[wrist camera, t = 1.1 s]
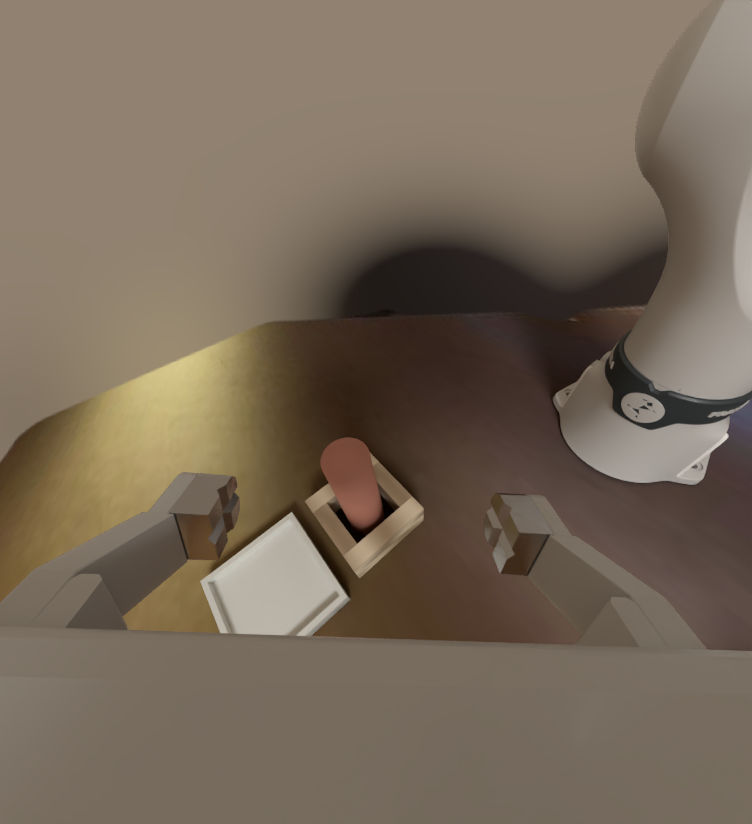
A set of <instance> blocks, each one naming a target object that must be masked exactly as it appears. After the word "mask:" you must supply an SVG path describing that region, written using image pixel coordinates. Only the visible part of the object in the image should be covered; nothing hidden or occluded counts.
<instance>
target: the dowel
mask: <svg viewBox="0 0 752 824" xmlns="http://www.w3.org/2000/svg"><path fill="white" fill-rule="evenodd" d="M320 464H321V469H322V471H323V473H324V475H325V477H326V479H327V481H328V482H329V484H330V486H331V488H332V490H333V492H334V494H335V496H336V498H337V500H338V501H339V503H340V505H341V507H342V509H343V511H344V513H345V515H346V517H347V519H348V521H349V522H350V524H351V526H352V528H353V529H354V530H355V531H356V532H358V533H360V534H363V535H368V534H369V533H371V532H372V531H373V530H374V529H375V528H376V527H377V526H379V525H380V524H381V523H382V522H383V521H384V518H385V514H384V510H383V506H382V501H381V497H380V493H379V489H378V485H377V481H376V477H375V473H374V468H373V464H372V460H371V456H370V452H369V449H368V447H367V446H366V445H365V444H364V443H363V442H362V441H360V440H358V439H356V438H350V437H347V438H341V439H338V440H335V441H334V442H332V443H331V444H329V445H328V446H327V447H326V449H325V450H324V451H323V453H322V456H321V462H320Z"/></svg>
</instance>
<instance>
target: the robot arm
mask: <svg viewBox="0 0 752 824" xmlns="http://www.w3.org/2000/svg"><path fill="white" fill-rule="evenodd" d="M635 152H636V158H637V162H638V165H639V168H640V171H641V173H642V175H643V177H644V178H645V179H646V180H647V181H648V183H649V184H650V185H651V187H652V188H653V189H654V191H655V193H656V195H657V196H658V198H659V200H660V202H661V205H662V207H663V210H664V213H665V217H666V220H667V226H668V233H669V248H668V256H667V261H666V265H665V268H664V271H663V274H662V276H661V279H660V281H659V283H658V285H657V287H656V289H655V292H654V293H653V296H652V297H651V299H650V301H649V302H648V304H647V306H646V308H645V310H644V311H643V313H642V315H641V316H640V318H639V320H638V321H637V323H636V324H635V326H634V328H633V329H632V330H630V331H629V332H627V333H626V334H625V335H624V336H623V337H622V338H621V340H620V341H619V342H618V343H617V344H616V345H615V346H614V348H613V349H612V351H609V352H607V353H606V354H605V355H604V356H603V357H602V358H601V359H600V361H599V360H596V361H594V362H593V363H592V364H591V366H588V367H587V368H586V370H585V371H584V372H583V374H582V375H581V377H580V378H579V380H578V381H577V382H575V383H573V384H571V385H570V386H568V387H566V388H564V389H562V390H560V391H559V392H557V393H556V394H555V396H554V397H553V403H554V405H555V407H556V409H557V410H558V412H559V414H560V426H561V431H562V434H563V436H564V439H565V440H566V442H567V444H568V445H569V447H570V448H571V449H572V450H573V452H574V453H575V454H576V455H577V456H578V457H579V458H581V459H582V460H583V461H584V462H586V463H587V464H588V465H590V466H591V467H593V468H595V469H596V470H598V471H600V472H602V473H604V474H606V475H609V476H611V477H614V478H617V479H621V480H625V481H630V482H639V483H649V482H657V481H673V482H678V483H683V484H690V485H693V484H697V483H699V482H700V481H701V480H702V479H703V478H704V475H705V472H706V468H707V464H708V460H709V457H710V453H711V451H713V450H714V449H715V448H716V447H718V446H719V445H720V444H722V443H723V442H724V441H725V440H726V439H727V438H728V434H727V433H726V432H727V430H728V427H729V417H730V415H731V414H732V413H734V412H735V411H738V410H739V409H741V408H742V407H743V406H744V405H746V404H747V403H748V402H749V401H750V399H751V398H752V0H712V1H711V2H710V3H709V4H708V5H707V6H706V7H705V8H704V9H703V10H702V12H701V13H700V14H699V15H698V16H697V17H696V18H695V19H694V20H693V21H692V22H691V24H690V25H689V26H688V27H687V28H686V30H685V31H684V32H683V33H682V35H681V36H680V37H679V38H678V40H677V41H676V42H675V44H674V46H673V47H672V48H671V49H670V51H669V52H668V54H667V56H666V57H665V59H664V60H663V62H662V63H661V65H660V67H659V68H658V70H657V72H656V74H655V76H654V78H653V80H652V81H651V83H650V86H649V88H648V90H647V92H646V95H645V97H644V100H643V103H642V106H641V109H640V112H639V116H638V121H637V126H636V134H635ZM567 395H568V396H567ZM692 467H693V468H692ZM236 488H237V482H236V478H235V477H234V476H226V475H214V474H203V473H200V474H198V473H188V472H183V473H181V474H179V475H178V476H177V477H176V478H175V479H174V480H173V482H172V483H171V484H170V485H169V487H168V488H167V489H166V490H165V492H164V493H163V494H162V495H161V496H160V498H159V499H158V500H157V501H156V503H155V504H154V505H153V506H152V508H151V509H150V510H149V511H148V512H141V513H140V514H138V515H136V516H134V517H132V518H130V519H128V520H126V521H124V522H123V523H121V524H119V525H117V526H115V527H113V528H111V529H109V530H108V531H106V532H104V533H102V534H100V535H98V536H96V537H94V538H92V539H91V540H89V541H87V542H85V543H83V544H81V545H79V546H77V547H75V548H74V549H72V550H70V551H68V552H66V553H64V554H62V555H60V556H58V557H57V558H55V559H53V560H51V561H49V562H47V563H45V564H43V565H41V566H40V567H38V568H36V569H34V570H33V571H32V572H31V573H30V574H29V575H28V576H27V577H26V578H25V579H24V580H23V581H22V582H21V583H20V584H19V585H18V586H17V587H16V588H15V589H14V590H13V591H12V592H11V593H10V594H8V595H7V596H6V597H5V598H4V599H3V600H2V601H1V602H0V824H752V651H740V650H710V649H707V648H706V647H705V646H704V645H703V643H702V642H701V641H700V640H699V639H698V637H697V636H696V635H695V634H694V632H693V631H692V630H691V629H690V628H689V626H688V625H687V624H686V623H685V621H684V620H683V619H682V618H681V617H680V615H679V614H678V613H677V612H676V610H675V609H674V608H673V607H672V605H671V604H670V603H669V602H668V601H667V599H666V598H665V597H663V596H662V595H660V594H659V593H657V592H656V591H654V590H653V589H652V588H650V587H649V586H647V585H646V584H644V583H643V582H641V581H640V580H639V579H637V578H636V577H634V576H633V575H631V574H630V573H628V572H627V571H626V570H624V569H623V568H621V567H620V566H618V565H617V564H616V563H614V562H613V561H611V560H610V559H608V558H607V557H605V556H604V555H603V554H601V553H600V552H598V551H597V550H595V549H594V548H592V547H591V546H590V545H588V544H587V543H585V542H584V541H582V540H581V539H579V538H578V537H574V536H571V534H570V533H569V531H568V530H567V528H566V527H565V525H564V524H563V522H562V521H561V519H560V518H559V517H558V515H557V514H556V512H555V511H554V509H553V508H552V506H551V505H550V503H549V502H548V500H547V499H546V498H545V497H544V496H542V495H528V494H526V495H524V494H506V493H495V494H494V495H493V497H492V499H491V504H492V507H493V508H491V509H490V510H489V511H487V512H486V515H485V519H484V531H485V536H486V538H487V541H488V542H489V543H490V544H491V545H492V546H493V547H494V548H495V549H494V552H493V557H494V559H495V562H496V564H497V567H498V569H499V572H500V574H510V575H523V576H528V578H529V580H530V581H531V582H532V583H533V584H534V585H535V586H536V587H537V588H538V589H539V590H540V591H541V592H542V593H543V594H544V595H545V596H546V598H547V599H548V600H549V601H550V602H551V603H552V604H553V605H554V606H555V607H556V608H557V609H558V610H559V611H560V612H561V613H562V614H563V615H564V617H565V618H566V619H567V620H568V621H569V622H570V623H571V624H572V625H573V626H574V627H575V628H576V629H577V630H578V631H579V632H580V633H581V635H582V636H581V637H580V638H579V640H578V641H577V642H576V643H575V645H561V644H531V643H501V642H472V641H442V640H412V639H381V638H351V637H320V636H290V635H260V634H231V633H201V632H172V631H142V630H129V628H128V626H127V624H126V622H125V621H124V619H123V616H124V615H125V614H126V613H127V612H129V611H130V610H131V609H132V608H133V607H134V606H136V605H137V604H138V603H139V602H140V601H141V600H143V599H144V598H145V597H146V596H147V595H149V594H150V593H151V592H152V591H153V590H154V589H156V588H157V587H158V586H159V585H160V584H161V583H163V582H164V581H165V580H166V579H167V578H169V577H170V576H171V575H172V574H173V573H174V572H176V571H177V570H178V569H179V568H180V567H182V566H183V565H184V564H185V563H186V562H187V560H219V558H220V556H221V554H222V552H223V550H224V548H225V545H226V543H227V541H228V539H227V532H229V531H230V530H232V529H233V528H234V526H235V524H236V522H237V519H238V515H239V511H240V500H239V496H237V495H236V494H235V493H234V492H235V490H236Z"/></svg>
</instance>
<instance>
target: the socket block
mask: <svg viewBox="0 0 752 824" xmlns="http://www.w3.org/2000/svg"><path fill="white" fill-rule="evenodd" d="M370 456H371V460H372V464H373V468H374V473H375V477H376V481H377V485H378V489H379V493H380V495H381V496H382V497H383V499H384V500H385V501H386V502H387V503H388V504H389V505H390V506H391V508H392V509H393V510H394V511H395V512H394V513H392V514H391V515H390V516H389V517H388V518H387V519H386V520H384V521H383V522H382V523H381V524H380V525H379V526H377V527H376V528H375V529H374V530H373V531H372V532H371V533H369V534H368V535H367V536H366V537H365V538H364V539H362V540H361V541H360V542H359V543H358V544H357V543H356V541H355V540H354V539H353V537H352V536H351V535H350V533H349V532H348V531H347V529H346V528H345V527H344V525H343V524H342V523H341V521H340V520H339V519H338V517H337V516H336V515H335V513H336V512H337V511H338V510H339V509H341V508H342V507H341V505H340V503H339V501H338V500H337V498H336V496H335V494H334V492H333V490H332V488H331V486H330V484H329V483H328V484H327V485H325V486H324V487H323V488H321V489H320V490H319V491H317V492H316V493H315V494H314V495H312V496H311V497H310V498H308V499H307V500H306V501H305V502H306V504H307V505H308V507H309V508H310V509H311V511H312V512H313V514H314V515H315V517H316V518H317V519H318V521H319V522H320V524H321V525H322V527H323V528H324V529H325V531H326V532H327V534H328V535H329V536H330V538H331V539H332V541H333V542H334V544H335V545H336V546H337V548H338V549H339V551H340V552H341V554H342V555H343V556H344V558H345V559H346V561H347V562H348V563H349V565H350V566H351V568H352V569H353V571H354V572H355V573H356V575H357V576H358V577H359V578H361V577H362V576H363V575H364V574H365V573H366V572H367V571H368V570H369V569H370V568H372V567H373V566H374V565H375V564H376V563H377V562H378V561H379V560H380V559H381V558H382V557H384V556H385V555H386V554H387V553H388V552H389V551H390V550H391V549H392V548H393V547H395V546H396V545H397V544H398V543H399V542H400V541H401V540H402V539H403V538H404V537H405V536H407V535H408V534H409V533H410V532H411V531H412V530H413V529H414V528H415V527H416V526H418V525H419V524H420V523H421V522H422V521H423V514H424V508H423V507H422V506H421V505H420V504H419V503H418V502H417V501H416V500H415V499H414V498H413V497H412V496H411V495H410V494H409V493H408V492H407V491H406V490H405V488H404V487H403V486H402V485H401V484H400V483H399V482H398V481H397V480H396V479H395V478H394V477H393V476H392V475H391V474H390V473H389V472H388V471H387V470H386V469H385V468H384V467H383V466H382V465H381V464H380V463H379V461H378V460H377V459H376V458H375V457H374V456H373V455H372V454H371V453H370Z"/></svg>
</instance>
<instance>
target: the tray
mask: <svg viewBox="0 0 752 824" xmlns="http://www.w3.org/2000/svg"><path fill="white" fill-rule="evenodd" d="M200 582H201V584H202V587H203V589H204V592H205V594H206V597H207V600H208V602H209V605H210V607H211V610H212V612H213V615H214V618H215V620H216V623H217V625H218V628H219V630H220V633H231V634H260V635H290V636H312V635H313V634H314V633H315V632H316V631H317V630H318V629H319V628H320V627H321V626H322V625H324V624H325V623H326V622H327V621H328V620H329V619H330V618H331V617H332V616H333V615H334V614H335V613H336V612H338V611H339V610H340V609H341V608H342V607H343V606H344V605H345V604H346V603H347V602H348V601H349V600H350V598H349V596H348V595H347V593H346V592H345V590H344V588H343V587H342V585H341V584H340V582H339V581H338V579H337V578H336V576H335V575H334V573H333V572H332V570H331V569H330V567H329V566H328V564H327V563H326V561H325V560H324V558H323V557H322V555H321V554H320V552H319V551H318V549H317V548H316V546H315V545H314V543H313V542H312V540H311V538H310V537H309V535H308V534H307V532H306V531H305V529H304V528H303V526H302V525H301V523H300V522H299V520H298V519H297V517H296V516H295V515H294V514H293V513H292V512H291V513H289V514H288V515H287V516H286V517H284V518H283V519H282V520H280V521H279V522H278V523H276V524H275V525H274V526H272V527H271V528H270V529H268V530H267V531H266V532H264V533H263V534H262V535H261V536H259V537H258V538H257V539H255V540H254V541H253V542H251V543H250V544H249V545H247V546H246V547H245V548H243V549H242V550H241V551H240V552H238V553H237V554H236V555H234V556H233V557H232V558H230V559H229V560H228V561H226V562H225V563H224V564H222V565H221V566H220V567H218V568H217V569H216V570H215V571H213V572H212V573H211V574H209V575H208V576H207V577H205V578H204V579H203V580H201V581H200Z"/></svg>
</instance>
